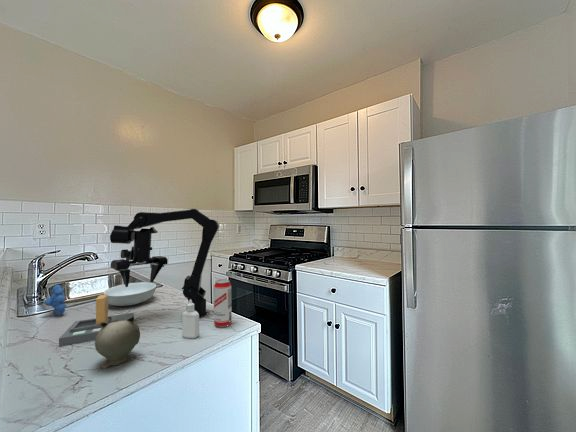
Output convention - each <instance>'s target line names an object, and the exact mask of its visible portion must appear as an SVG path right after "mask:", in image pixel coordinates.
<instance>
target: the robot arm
mask: <svg viewBox="0 0 576 432" xmlns="http://www.w3.org/2000/svg"><path fill="white" fill-rule="evenodd" d="M190 219H192V220H193V221H194V222H195V223H197V224H198V225H199V226H201V227H202V232H201V233H202V234H201V242H200V245H199V249H198V252H197V256H196V259H195V262H194V265H193V268H192V272H191V274H190V275H187V276H186V277H185V278H184V283H183V286H182V288H181V290H182V295H183V296H184V298H186V299H187V301H188V302H189V300H192V303H194V310H195V311H197V312H198V313H199V319H201V318H202V317H205V316H206V315H207V314H209V313H210V312H209V311H207V299H206V298H205V296H206V294H207V291H206V290H205V289H204V288H203V287H202V275H203V271H204V267H205V265H206V261H207V258H208V255H209V251H210V248H211V245H212V242H213V240H214V238H215V237H216V235H217V233H218V231H219V230H220V223H219V221H217V220H216V219H213V218H212V219H210V218H209V217H208V216H207V215H205V214H204V213H202V212H201V211H200V210H199V209H197V208H190V209H185V210H176V211H175V210H174V211H167V212H150V211H149V212H147V211H145V212H144V211H140V212H137V213H136V214H135V215H134V217H133V220H132V221H131V222H130V223H129V224H128V225H127V226H125V225H118V224H117V225H114V226H113V229H112V230H111V233H110V235H109V241H110V243H111V244H121V245H123V244H124V245H125V244H127V245H129V244H131V243H132V242H133V246H131V249H130V250H129V249H122V250H121V251H120V258H119V259H113V260H112V261H111V262H110V268H111V269H113V270H115V271H117V272H119V274H120V275H121V278H122V282H123V284H125V287H128V284H129V283H130V275H131V269H129V268H130V267H133V266H142V265H150V275H149V276H150V277H149V279H150V282H149V283H153V282H155V279H156V277H157V276H158V274H159V272H160V271H161V270H162V269H163V267H164V268H165V265H168V260H169V259H168V258H167V257H166V256H161V255H156V256H155V255H154V256H152V257H151V251H153V247H151V246H152V234H158V230H157V229H156V228H155V227H154V226H155V225H159V224H160V223H161V224H162V223H165V222H167V223H168V222H172V221H174V222H176V221H183V220H190ZM151 226H152V227H151ZM146 227H149V228H146ZM139 229H140V230H139Z"/></svg>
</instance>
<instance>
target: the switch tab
mask: <svg viewBox="0 0 576 432" xmlns="http://www.w3.org/2000/svg"><path fill="white" fill-rule="evenodd" d="M108 316H109V303H108V294H105V295H104V294H99V295H98V296H97V298H95V318H96V324H95V325H99V324H100V323H103V322H104V323H107V324H108V322H109V321H110V319H108Z"/></svg>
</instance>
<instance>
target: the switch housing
mask: <svg viewBox="0 0 576 432" xmlns="http://www.w3.org/2000/svg"><path fill="white" fill-rule="evenodd" d="M134 315H135V312H129V313H123V314H122V313H121V314H117V315H110V316H109V315H108V319H110V321H109V322H108V323H110V322H112V321H115V320H118V319H123V320H127V319H129V318H132V317H134V318H135V316H134ZM95 324H96V317H94V318H89V319H88V318H86V319H81V320H75V321H74V322H72V324H71V325H70V326H69V327H68V328H67V329H66V330H65V332H63V333H62V335H61V336H60V337H59V338H58V347H65V346H70V345H74V344H81V343H86V342H92V341H95V339H96V336H97V334H98V332H99V331H100V329H101V328H102V327H103V326H101V325H100V324H99V325H95Z"/></svg>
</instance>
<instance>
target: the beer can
mask: <svg viewBox="0 0 576 432" xmlns="http://www.w3.org/2000/svg"><path fill="white" fill-rule="evenodd" d="M232 309H233V308H232V284H231V282H230V279H227V278H226V279H223V278H222V279H217V280H215V283H214V285H213V324H214V325H215V327H217V326H218V327H217V328H225V327H224V326H227V325H229V324H230V325H231V324H232V321H233V320H232V317H233V315H232V313H233V312H232V311H233V310H232ZM230 325H229V326H230ZM227 327H228V326H227Z"/></svg>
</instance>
